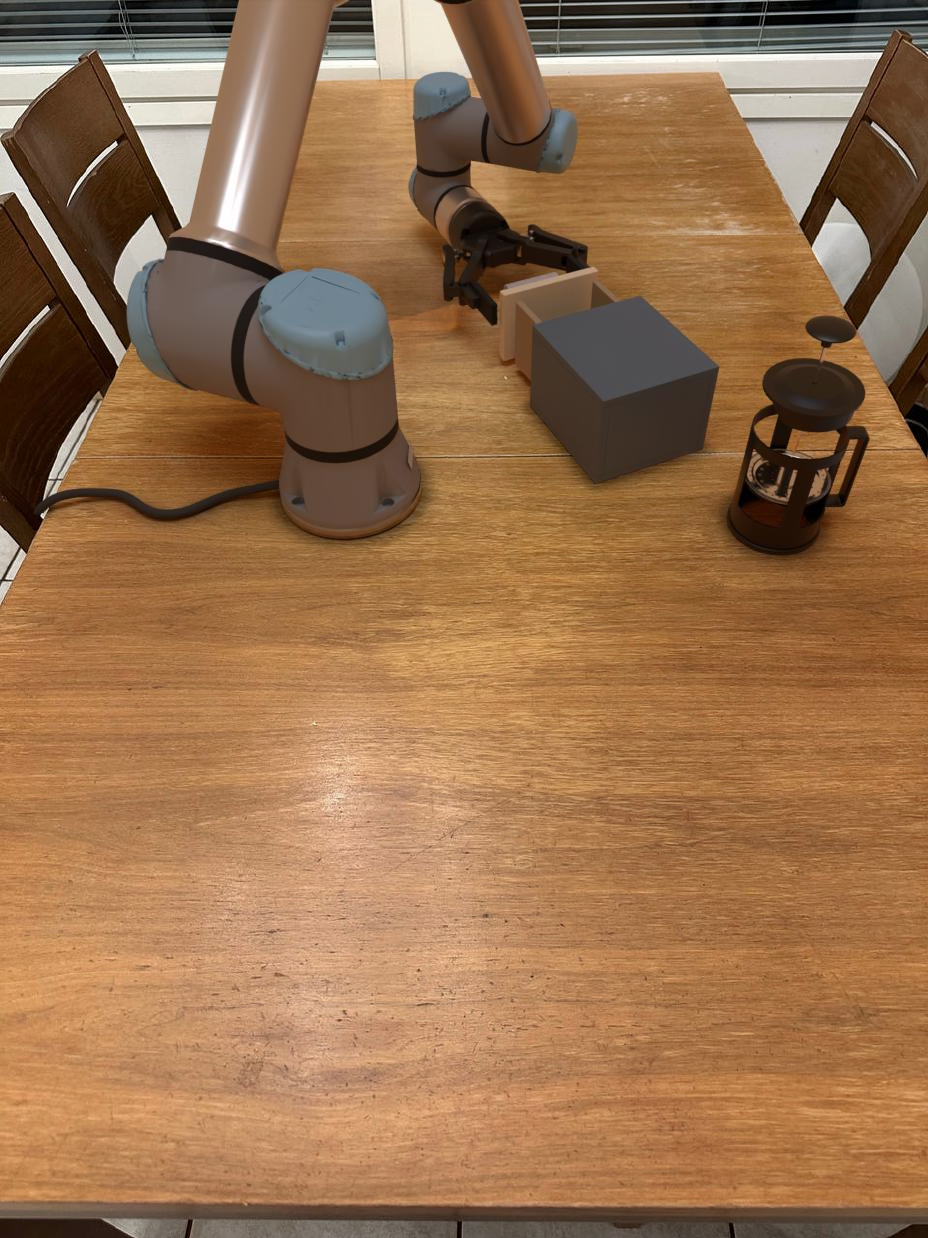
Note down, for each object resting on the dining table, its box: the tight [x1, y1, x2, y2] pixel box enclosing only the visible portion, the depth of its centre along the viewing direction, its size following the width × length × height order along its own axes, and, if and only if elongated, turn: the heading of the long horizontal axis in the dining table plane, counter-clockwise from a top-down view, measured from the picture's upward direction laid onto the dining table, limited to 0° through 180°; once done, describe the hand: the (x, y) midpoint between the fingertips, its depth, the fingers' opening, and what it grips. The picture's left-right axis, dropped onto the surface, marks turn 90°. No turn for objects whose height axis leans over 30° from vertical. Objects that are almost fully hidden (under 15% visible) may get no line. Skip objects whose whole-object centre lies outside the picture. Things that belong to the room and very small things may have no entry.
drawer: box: [499, 266, 621, 382], centre depth 113 cm, size 19×13×9 cm, turn 25°
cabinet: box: [529, 295, 720, 485], centre depth 105 cm, size 16×14×11 cm
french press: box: [726, 315, 870, 556], centre depth 89 cm, size 12×9×23 cm
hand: (545, 301), depth 115 cm, fingers open, 13 cm apart
